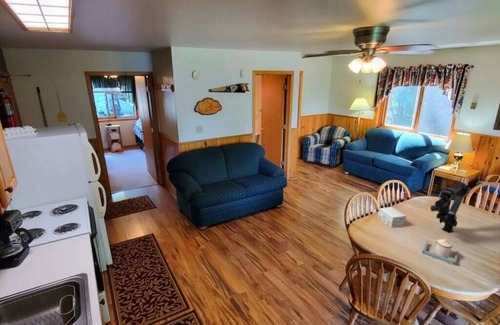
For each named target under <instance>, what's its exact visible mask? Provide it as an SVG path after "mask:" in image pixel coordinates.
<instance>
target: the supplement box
mask: <svg viewBox="0 0 500 325" xmlns="http://www.w3.org/2000/svg"><path fill="white" fill-rule="evenodd" d="M406 217H407V215H406V214H404V213H402V212H400V211H399V210H397V209H396V208H394V207H392V206H389V207H382V208H379V209H378V215H377V218H378V220H381V221H382V223H385V224H386V225H388V226H389V227H390V228H395V227H402V226H405V224H406V223H405V222H406V219H407V218H406Z"/></svg>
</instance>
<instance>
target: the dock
mask: <svg viewBox="0 0 500 325" xmlns="http://www.w3.org/2000/svg"><path fill="white" fill-rule="evenodd" d="M428 245H429V241H427V240H426V242H425V244H424V246H423V249H422V253H421V254H423V255H426V256H428V257H431V258H434V259H436V260H439V261H442V262H444V263H447V264H450V265H453V266H456V264H457V261H458V260H457V259H458V255H459V251H458V250H455V254H454V257H453V259H450V258H449V257H442V256H439V255H437V254H436V253H435V252H434V253H433V252H431V251H428V250H427V248H428Z"/></svg>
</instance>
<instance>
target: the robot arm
mask: <svg viewBox="0 0 500 325" xmlns="http://www.w3.org/2000/svg"><path fill="white" fill-rule="evenodd" d="M471 191H472V189H471V187H470V186H469V185H467V184H466V183H465V182H461V181H457V182H456V183H455V184H454V185H452V186H451V187H444V188H443V189H442V190H441V192H440V193H439V195H438V198H439V199H438V200H436V201H435V202H434V205H430V212H438V213H437V214H436V219H438V220H439V223H440V224H442V223H443V224H444V225H443V227H442V228H441V230H442V231H445V232H446V233H448V234H451V233H454V232H455V230H453V229H454V227H457V225H458V221H457V219H458V217H457V212H458V211H459V208H460V206H461V204H462V202H463V200H464V198H465V197H468V195H469V194H470V192H471ZM452 201H453V202H452ZM451 203H452V204H451Z"/></svg>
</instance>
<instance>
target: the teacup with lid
mask: <svg viewBox="0 0 500 325" xmlns="http://www.w3.org/2000/svg"><path fill="white" fill-rule="evenodd" d="M452 248H453V243H452V242H450V241H449V240H448V239H447V238H439V239H437V240H435V249H434V254H436V255H439V256H442V257H445V258H449V257H450V254H451V251H452Z"/></svg>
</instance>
